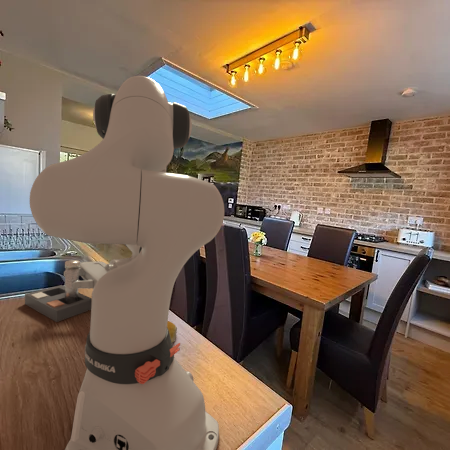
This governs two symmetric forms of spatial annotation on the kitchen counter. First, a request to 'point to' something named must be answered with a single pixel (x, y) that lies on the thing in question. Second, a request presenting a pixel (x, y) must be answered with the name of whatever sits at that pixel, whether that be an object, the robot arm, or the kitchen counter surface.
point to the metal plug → (71, 276)
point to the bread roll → (172, 330)
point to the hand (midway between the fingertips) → (68, 279)
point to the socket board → (56, 303)
